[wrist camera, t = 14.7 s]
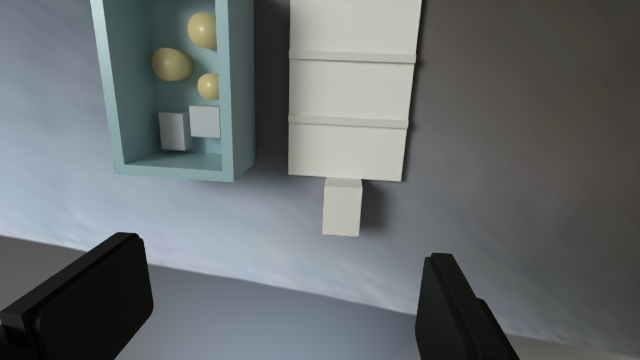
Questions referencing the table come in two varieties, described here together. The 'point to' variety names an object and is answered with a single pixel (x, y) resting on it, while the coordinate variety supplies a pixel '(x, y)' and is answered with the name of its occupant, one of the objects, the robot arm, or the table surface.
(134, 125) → the tub
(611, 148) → the table surface
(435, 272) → the robot arm
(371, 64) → the lid
